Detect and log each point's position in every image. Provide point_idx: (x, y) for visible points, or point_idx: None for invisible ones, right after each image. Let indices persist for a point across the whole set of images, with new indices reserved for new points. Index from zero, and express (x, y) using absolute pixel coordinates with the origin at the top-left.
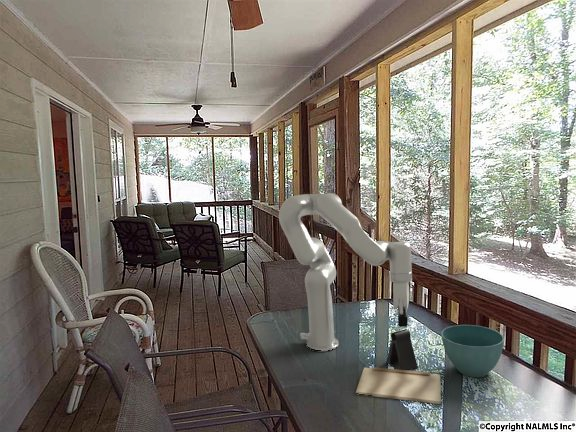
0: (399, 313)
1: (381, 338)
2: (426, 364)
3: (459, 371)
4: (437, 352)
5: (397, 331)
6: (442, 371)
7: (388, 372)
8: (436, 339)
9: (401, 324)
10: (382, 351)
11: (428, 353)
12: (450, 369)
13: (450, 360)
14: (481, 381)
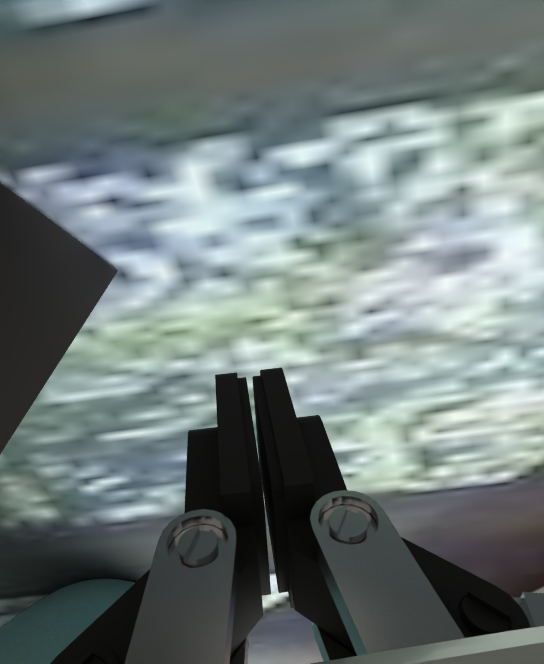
0: (148, 610)
1: (525, 15)
2: (89, 440)
3: (49, 594)
4: None
5: None
6: (32, 522)
7: None
8: (500, 439)
9: (189, 442)
10: (206, 84)
11: None
12: (80, 548)
13: (16, 625)
14: None
